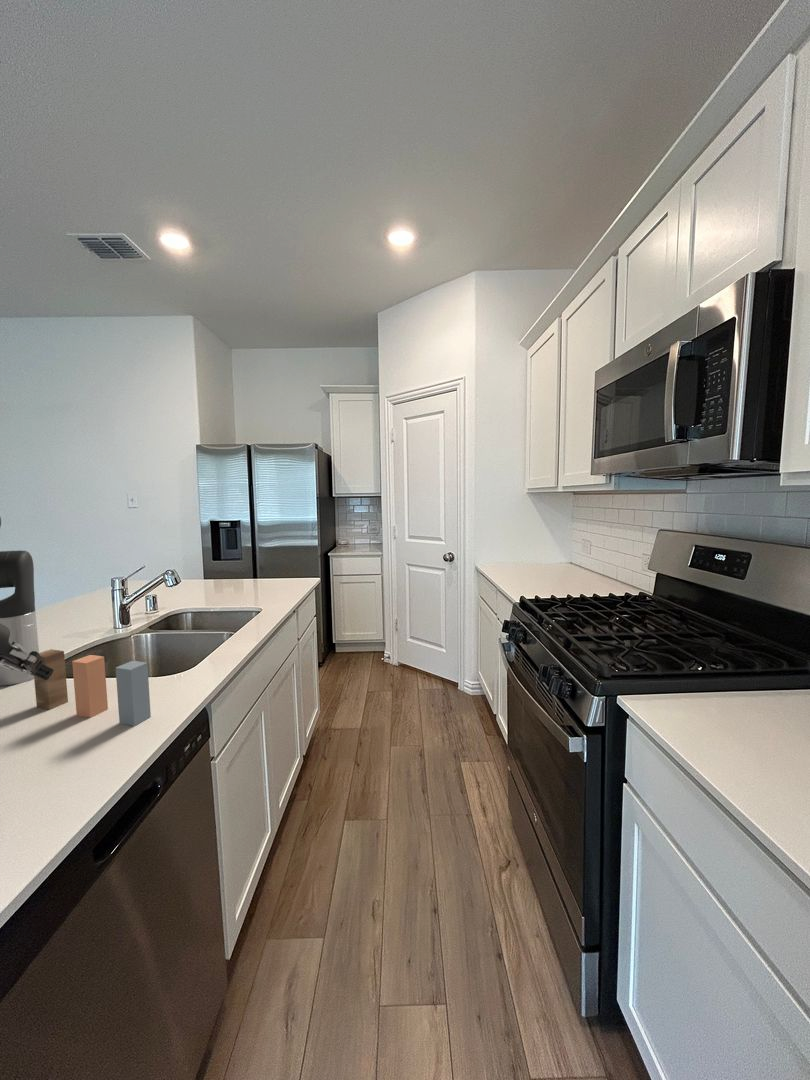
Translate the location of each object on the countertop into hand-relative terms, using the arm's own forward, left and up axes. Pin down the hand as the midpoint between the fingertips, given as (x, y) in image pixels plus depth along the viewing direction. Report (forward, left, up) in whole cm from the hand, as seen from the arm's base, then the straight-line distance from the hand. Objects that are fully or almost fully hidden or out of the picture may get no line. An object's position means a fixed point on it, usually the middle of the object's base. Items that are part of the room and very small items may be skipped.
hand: (47, 674), depth 88 cm
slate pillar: (+6, +13, -12) cm, 19 cm away
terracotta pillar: (-4, +7, -12) cm, 14 cm away
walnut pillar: (-14, +1, -12) cm, 19 cm away
